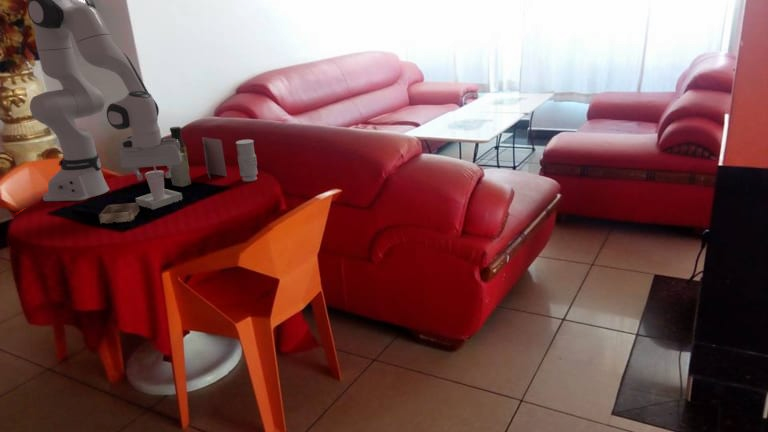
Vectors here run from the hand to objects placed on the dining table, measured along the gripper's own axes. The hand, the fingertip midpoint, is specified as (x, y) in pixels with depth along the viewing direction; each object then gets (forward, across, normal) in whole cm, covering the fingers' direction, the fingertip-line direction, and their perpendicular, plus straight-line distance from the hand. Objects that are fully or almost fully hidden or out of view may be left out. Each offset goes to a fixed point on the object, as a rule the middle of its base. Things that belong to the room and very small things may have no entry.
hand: (154, 178), depth 209 cm
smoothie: (+8, 0, 0) cm, 8 cm away
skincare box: (+9, -4, -20) cm, 22 cm away
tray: (+9, 0, 0) cm, 9 cm away
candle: (+9, -30, -20) cm, 37 cm away
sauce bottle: (+9, -2, -33) cm, 34 cm away
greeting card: (+9, -16, -29) cm, 34 cm away
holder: (+9, +10, +13) cm, 19 cm away
